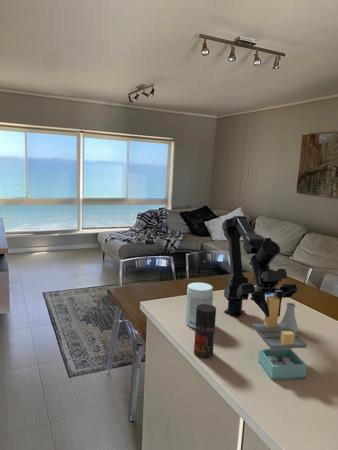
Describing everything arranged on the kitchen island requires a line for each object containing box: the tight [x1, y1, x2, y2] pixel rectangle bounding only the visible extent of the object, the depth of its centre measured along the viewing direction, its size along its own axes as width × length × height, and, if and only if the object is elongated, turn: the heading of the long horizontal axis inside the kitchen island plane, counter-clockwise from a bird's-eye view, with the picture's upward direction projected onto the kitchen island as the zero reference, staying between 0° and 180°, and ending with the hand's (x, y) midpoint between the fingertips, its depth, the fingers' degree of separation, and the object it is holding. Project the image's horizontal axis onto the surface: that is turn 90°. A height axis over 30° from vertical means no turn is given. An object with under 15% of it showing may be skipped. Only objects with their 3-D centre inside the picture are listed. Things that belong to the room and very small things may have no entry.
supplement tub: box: [185, 282, 214, 329], centre depth 122 cm, size 10×10×15 cm
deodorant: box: [193, 304, 217, 360], centre depth 102 cm, size 6×6×15 cm
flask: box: [280, 302, 300, 335], centre depth 121 cm, size 7×7×10 cm
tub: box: [257, 348, 308, 381], centre depth 96 cm, size 9×10×4 cm
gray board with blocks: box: [252, 295, 308, 349], centre depth 97 cm, size 13×11×10 cm
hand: (273, 316), depth 101 cm, fingers closed on gray board with blocks, 3 cm apart
